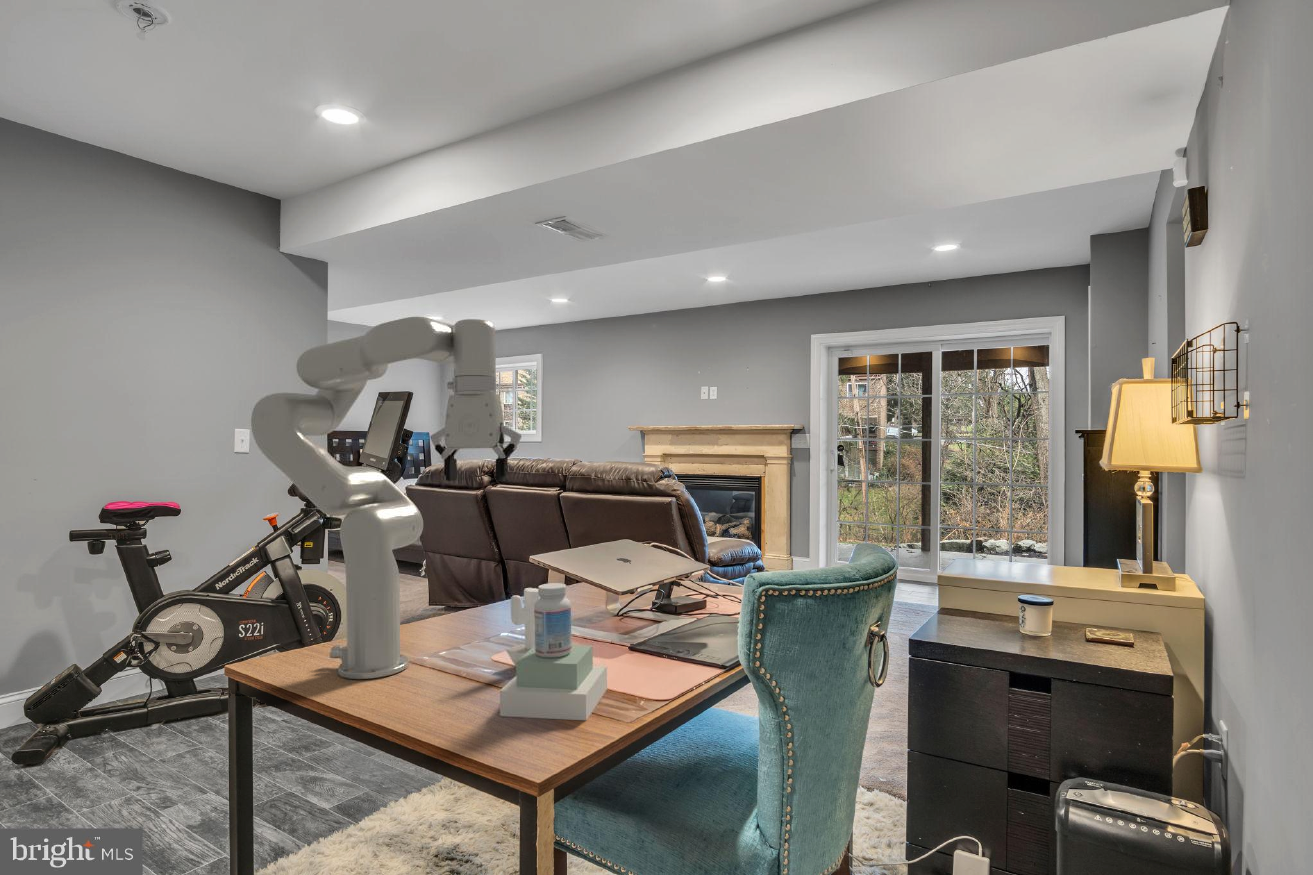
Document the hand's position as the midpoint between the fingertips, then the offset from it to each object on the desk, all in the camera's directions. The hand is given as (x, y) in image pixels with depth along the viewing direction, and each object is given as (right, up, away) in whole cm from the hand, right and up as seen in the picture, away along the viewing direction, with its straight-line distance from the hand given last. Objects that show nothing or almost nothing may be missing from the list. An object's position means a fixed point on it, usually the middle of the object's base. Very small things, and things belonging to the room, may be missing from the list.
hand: (476, 480), depth 129 cm
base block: (+17, -36, -13) cm, 42 cm away
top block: (+17, -32, -13) cm, 38 cm away
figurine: (+9, -36, +5) cm, 38 cm away
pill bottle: (+16, -28, -13) cm, 35 cm away
